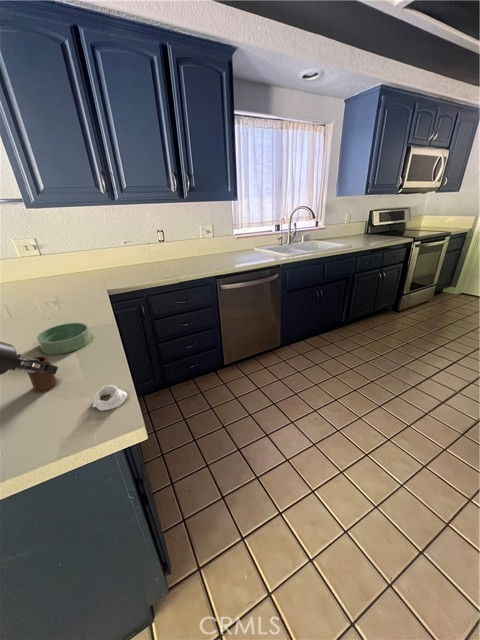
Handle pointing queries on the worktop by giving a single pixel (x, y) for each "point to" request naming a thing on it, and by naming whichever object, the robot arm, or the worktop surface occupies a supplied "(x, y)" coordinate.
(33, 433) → the worktop surface
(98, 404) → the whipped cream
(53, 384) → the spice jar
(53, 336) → the bowl
